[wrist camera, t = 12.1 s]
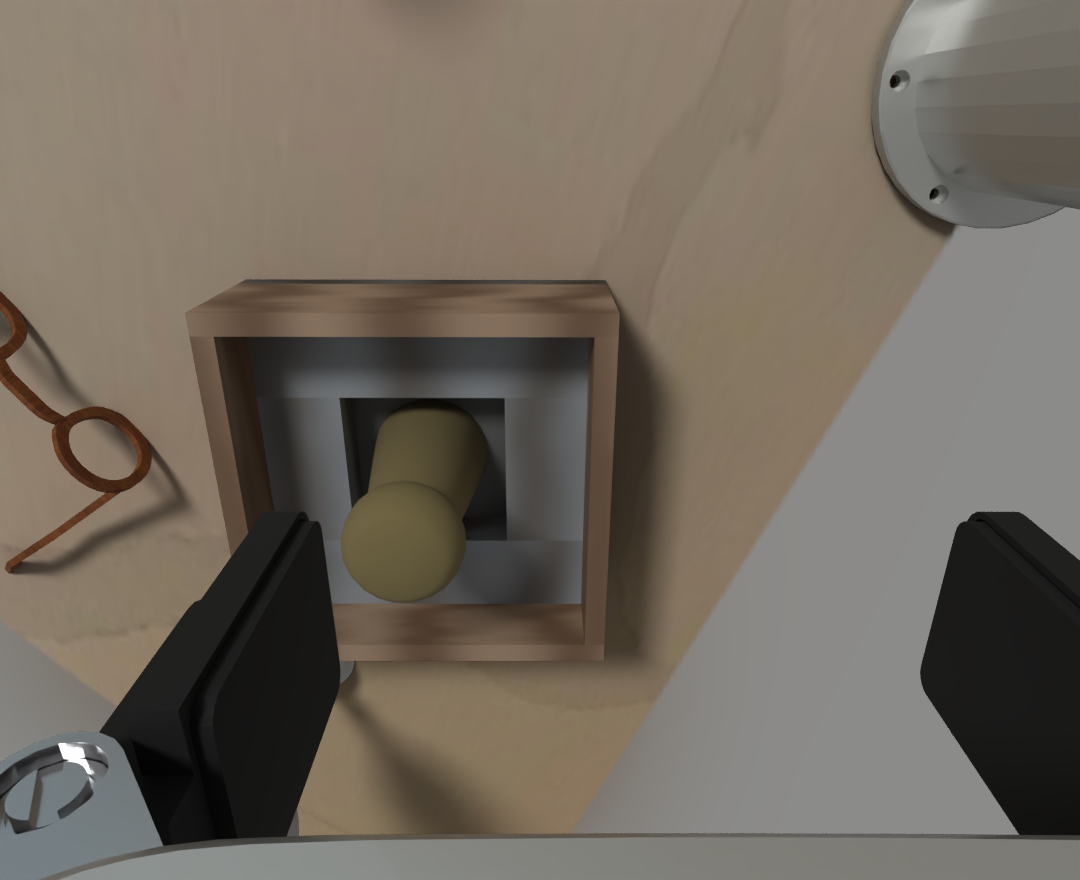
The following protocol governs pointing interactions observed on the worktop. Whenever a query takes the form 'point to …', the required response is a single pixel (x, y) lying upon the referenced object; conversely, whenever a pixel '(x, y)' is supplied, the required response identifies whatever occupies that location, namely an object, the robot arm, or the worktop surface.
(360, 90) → the worktop surface
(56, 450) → the glasses
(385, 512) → the cork
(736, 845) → the robot arm
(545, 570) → the wooden box
